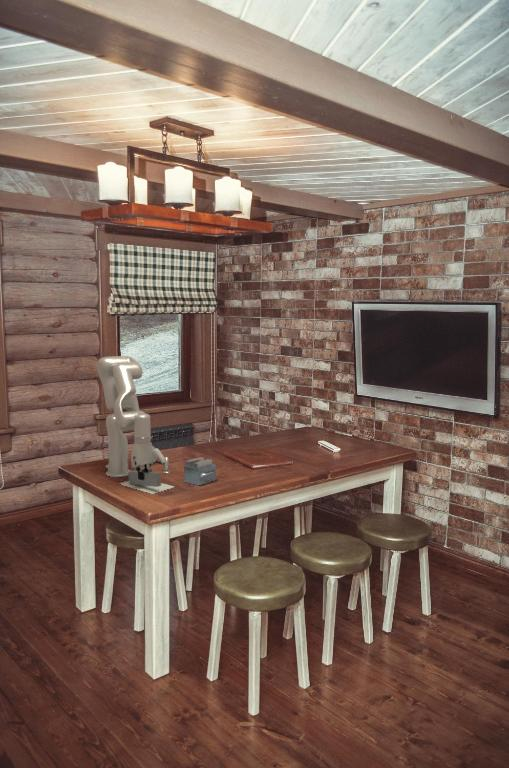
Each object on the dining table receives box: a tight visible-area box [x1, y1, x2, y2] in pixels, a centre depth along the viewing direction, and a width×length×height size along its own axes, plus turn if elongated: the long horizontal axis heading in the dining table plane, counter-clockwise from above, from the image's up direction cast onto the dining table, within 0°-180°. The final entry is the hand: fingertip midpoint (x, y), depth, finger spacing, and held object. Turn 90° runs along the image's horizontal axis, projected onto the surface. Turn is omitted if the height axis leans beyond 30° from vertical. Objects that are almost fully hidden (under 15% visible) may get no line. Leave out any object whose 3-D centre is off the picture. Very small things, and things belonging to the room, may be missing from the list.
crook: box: [127, 467, 162, 487], centre depth 279 cm, size 20×9×6 cm, turn 51°
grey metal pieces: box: [162, 456, 219, 486], centre depth 295 cm, size 32×12×10 cm, turn 51°
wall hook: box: [152, 445, 165, 465], centre depth 322 cm, size 8×10×10 cm
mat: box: [118, 480, 175, 495], centre depth 281 cm, size 24×14×1 cm, turn 51°
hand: (143, 478), depth 277 cm, fingers closed on crook, 2 cm apart
